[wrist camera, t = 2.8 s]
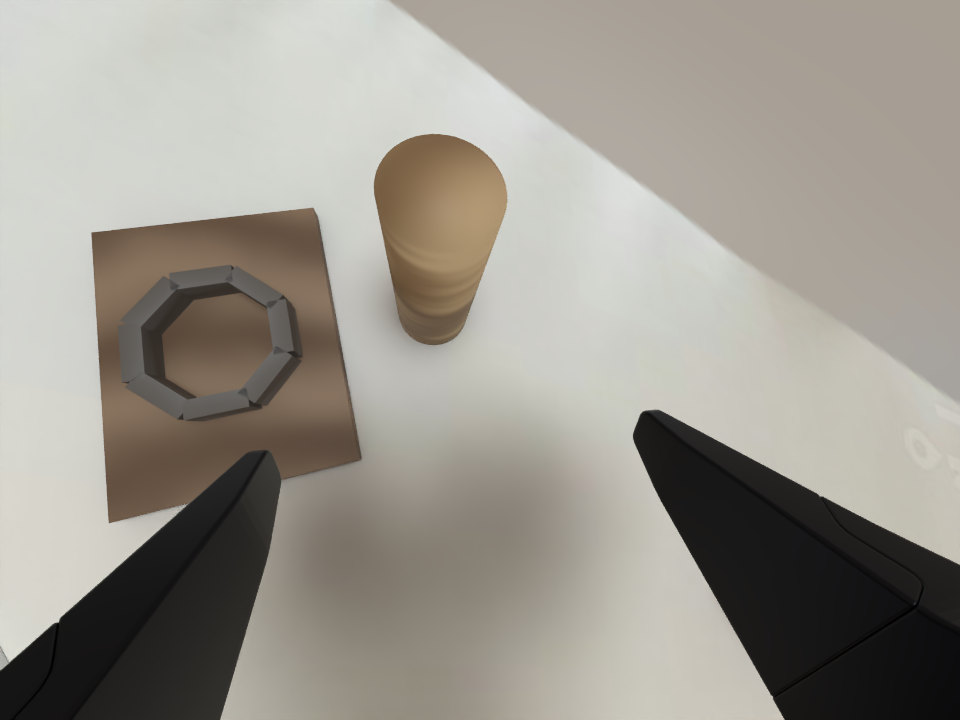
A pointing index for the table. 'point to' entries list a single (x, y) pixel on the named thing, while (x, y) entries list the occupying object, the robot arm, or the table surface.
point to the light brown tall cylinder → (438, 229)
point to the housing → (216, 355)
